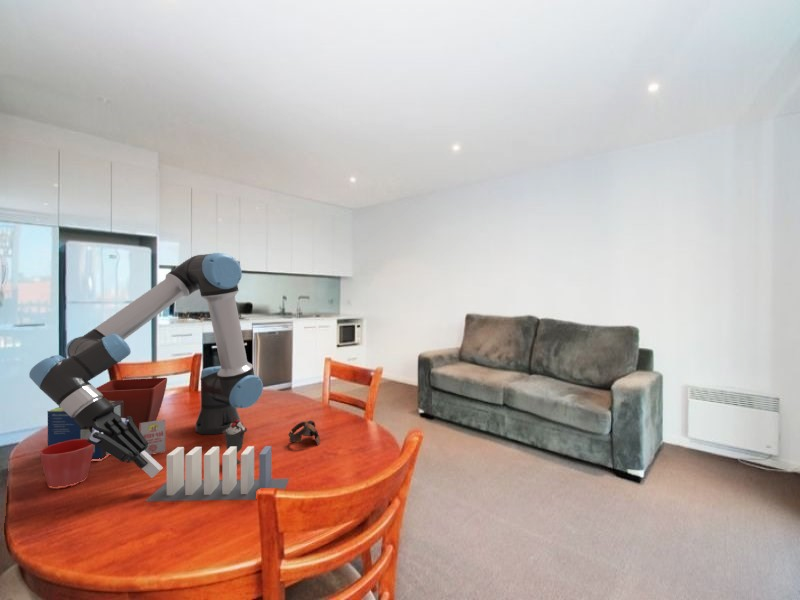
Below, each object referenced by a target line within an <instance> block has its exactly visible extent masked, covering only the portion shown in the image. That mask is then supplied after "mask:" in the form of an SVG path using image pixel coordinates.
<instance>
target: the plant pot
mask: <svg viewBox="0 0 800 600" xmlns="http://www.w3.org/2000/svg"><path fill="white" fill-rule="evenodd" d="M167 382H168V377H149V378H130V379H129V378H126V379H125V378H124V379H111V380H109V381H107V382H105V383H103V384H102V385H100V386H97V387H95V388H96V389H97V390H98V391H99V392H100V393H101V394H102V395H103V398H106V399H107V400H108V401H123V414H124V418H127V417H128V416H130V417H132V420H133V423H134V424H135V426H136V427H137V428H138V430H139V423H144V422H151V421H157V419H158V417H159V413H160V411H161V408H162V404H163V402H164V397H165V394H166V388H167V384H168V383H167Z"/></svg>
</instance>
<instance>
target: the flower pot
mask: <svg viewBox="0 0 800 600" xmlns="http://www.w3.org/2000/svg"><path fill="white" fill-rule="evenodd" d="M87 440H88V439H76V440H69V441H64V442H60V443H57V444H53V445H50V446H48V445H47V446H45V447H44V448H42V449H41V450H40V451H39V457H40V461H41V464H42V469H43V473H44V476H45V480H46V484H47V486H48V485H49V486H52V487H58V486H66V485H70V484H74V483H77V482H80V481H82V480H84V479H85V478H86V477H87V478H88V476H89V471H90V467H91V463H92V462H91V460H92V455H93V450H94V444H91V443H88V442H87ZM84 481H85V480H84Z"/></svg>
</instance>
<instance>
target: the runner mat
mask: <svg viewBox="0 0 800 600" xmlns="http://www.w3.org/2000/svg"><path fill="white" fill-rule="evenodd" d="M289 481H290V478H271V485H270V487H269V488H278V489H284V491H285V489H286V487H287V485H288V483H289ZM258 489H259V478H254V485H253V486H252V488H251V489H250V491H249V492H248V494H241V478H240V479H238V478H237V484H236V486H235V487H234V488H233V490H232V491H231V492H230V494H222V479H219V485H218V486H217V488H216V489H215V490H214V491H213V492H212V493H211V495H204V479H202V485H201V486H200V487H199V488H198V489H197V490H196V491H195V492H194V493H193V494H192V495H185V479H184V485H183V486H182V487H181V488H180V489H179V490H178V491H177V492H176V493H175V494H174V495H167V481H166V482H165V483H163V485H162V486H161V487H159V489H157V490H156V491H155V492H153V494H151V495H150V496H149V497H148V498H146V500H145V501H144V502H183V501H185V502H187V501H189V502H192V501H202V502H203V501H241V500H242V501H246V500H247V501H250V500H252V501H253V500H256V491H257V490H258ZM256 501H257V500H256Z"/></svg>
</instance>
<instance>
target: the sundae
mask: <svg viewBox="0 0 800 600" xmlns="http://www.w3.org/2000/svg"><path fill="white" fill-rule="evenodd" d="M235 417H236V416H235ZM235 417H234V419H235ZM234 419H233V422H232V423H231V424H230V426H229V427H228V428H227V429H225V430H224V431H223V432H222V433H221V434H223V435H224V437H225V445H226V451H227V450H228V449H229V448H230V447H231V446H237V454H238V452H240V450H242V449H243V444H244V436H245V433H247V431H248V428H247V427H245V425H244V424H243V422H242V421H241V420H240V421H239V420H237V419H235V421H234ZM243 425H244V426H243ZM239 464H240V465H241V460H238V458H237V466H238V465H239Z"/></svg>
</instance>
